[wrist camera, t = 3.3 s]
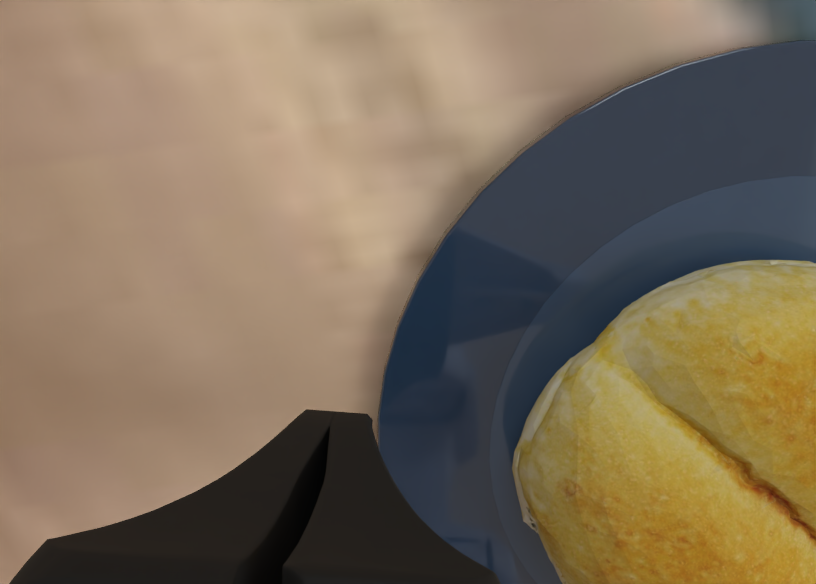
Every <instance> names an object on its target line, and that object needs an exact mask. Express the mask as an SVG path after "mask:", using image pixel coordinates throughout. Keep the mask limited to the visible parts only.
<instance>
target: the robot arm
mask: <svg viewBox="0 0 816 584" xmlns="http://www.w3.org/2000/svg"><path fill="white" fill-rule="evenodd" d="M9 584H500V581H499V579H498V577H497V575H496V574H495V573H494V572H493V571H492V570H490V569H488V568H486V567H485V566H483V565H481V564H479V563H478V562H476V561H474V560H472V559H471V558H469V557H467V556H465V555H464V554H462V553H461V552H459V551H458V550H457V549H455V548H454V547H452V546H451V545H450V544H448V543H447V542H446V541H444V540H443V539H442V538H441V537H440V536H438V535H437V534H436V533H435V532H434V531H433V530H432V529H431V528H430V527H429V526H428V525H427V524H426V523H425V522H424V521H423V520H422V519H421V518H420V517H419V516H418V515H417V513H416V512H415V511H414V510H413V508H412V507H411V506H410V505H409V503H408V502H407V501H406V499H405V498H404V496H403V495H402V493H401V492H400V490H399V489H398V487H397V485H396V484H395V482H394V480H393V478H392V477H391V475H390V473H389V471H388V469H387V467H386V465H385V463H384V460H383V458H382V456H381V454H380V452H379V449H378V446H377V443H376V440H375V437H374V433H373V429H372V419H371V418H370V417H369V415H368V414H360V413H347V412H333V411H319V410H305V411H304V412H303V413H302V414H300V415H299V416H298V417H297V418H296V419H295V420H294V421H292V422H291V423H290V424H289V425H288V426H287V427H286V428H285V429H284V430H283V431H281V432H280V433H279V434H278V435H277V436H276V437H275V438H273V439H272V440H271V441H270V442H269V443H267V444H266V445H265V446H264V447H263V448H261V449H260V450H259V451H258V452H257V453H255V454H254V455H253V456H251V457H250V458H248V459H247V460H246V461H244V462H243V463H242V464H240V465H239V466H238V467H236V468H235V469H233V470H232V471H230V472H229V473H227V474H226V475H224V476H222V477H221V478H219V479H218V480H216V481H214V482H212V483H210V484H209V485H207V486H205V487H203V488H201V489H200V490H198V491H196V492H194V493H192V494H190V495H187V496H185V497H183V498H181V499H179V500H176V501H174V502H172V503H170V504H167V505H165V506H163V507H161V508H158V509H156V510H153V511H151V512H148V513H145V514H142V515H140V516H137V517H134V518H131V519H128V520H125V521H121V522H118V523H115V524H112V525H108V526H105V527H101V528H97V529H93V530H88V531H84V532H80V533H75V534H71V535H67V536H62V537H58V538H52V539H47V540H46V541H45V542H44V544H43V545H42V546H41V547H40V548H39V549H38V550H37V551H36V552H35V553H34V554H33V555H32V556H31V558H30V559H29V560H28V561H27V562H26V563H25V564H24V566H23V567H22V568H21V569H20V571H19V572H18V573H17V574H16V576H15V577H14V578H13V580H12V581H11V582H10V583H9Z"/></svg>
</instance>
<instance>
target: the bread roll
mask: <svg viewBox="0 0 816 584" xmlns="http://www.w3.org/2000/svg"><path fill="white" fill-rule="evenodd" d="M512 471H513V476H514V481H515V486H516V490H517V495H518V499H519V503H520V507H521V512H522V517H523V521H524V522H525V523H527V524H528V525H529V526H530V528H531V529H533V530H535V531H536V533H537V532H538V534H539V536H540V539H541V541H542V543H543V546H544V548H545V550H546V552H547V554H548V557H549V559H550V561H551V562H552V563H553V565H554V567H555V569H556V572H557V574H558V576H559V578H560V580H561V582H562V583H563V584H816V263H813V262H810V261H794V260H751V261H739V262H733V263H727V264H722V265H717V266H713V267H709V268H705V269H702V270H698V271H695V272H692V273H690V274H687V275H685V276H683V277H680V278H678V279H676V280H674V281H670V282H668V283H666V284H664V285H662V286H660V287H658V288H656V289H654V290H653V291H651V292H649V293H647V294H646V295H644V296H642V297H641V298H639V299H638V300H636V301H634V302H633V303H631V304H630V305H629V306H627V307H626V308H624V309H623V310H622V311H621V313H620V314H619V315H618V316H617V317H616V318H615V319H614V320H613V321H612V322H611V323H610V324H609V325H608V326H607V327H606V329H605V330H604V331H603V332H602V333H601V334H600V335H599V336H598V337H597V339H596V340H595V341H594V343H592V344H591V345H589V346H588V347H586V348H585V349H583V350H582V351H580V352H579V353H578V354H577V355H575V356H574V357H572V358H570V359H569V360H568V361H567V362H566V363H565V365H564V366H562V367H561V368H560V369H559V370H558V371H557V372H556V373H555V375H554V376H553V377H552V378H551V380H550V381H549V382H548V384H547V385H546V386H545V388H544V389H543V391H542V392H541V394H540V395H539V397H538V399H537V401H536V403H535V404H534V406H533V408H532V410H531V412H530V413H529V415H528V417H527V419H526V422H525V425H524V428H523V431H522V434H521V437H520V439H519V442H518V444H517V447H516V449H515V451H514V457H513V465H512Z"/></svg>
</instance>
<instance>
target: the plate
mask: <svg viewBox="0 0 816 584" xmlns="http://www.w3.org/2000/svg"><path fill="white" fill-rule="evenodd" d="M751 260H794V261H810V262H813V263H816V40H798V41H787V42H780V43H772V44H764V45H757V46H749V47H742V48H734V49H729V50H726V51H722V52H718V53H714V54H711V55H707V56H703V57H699V58H696V59H692V60H688V61H684V62H681V63H677V64H673V65H671V66H668V67H666V68H664V69H661V70H659V71H656V72H654V73H651V74H649V75H646V76H644V77H641V78H639V79H637V80H634V81H632V82H629V83H627V84H624V85H622V86H619V87H617V88H615V89H614V90H612V91H610V92H608V93H607V94H605V95H603V96H601V97H599V98H598V99H596V100H594V101H592V102H590V103H589V104H587V105H585V106H583V107H582V108H580V109H578V110H576V111H574V112H573V113H571V114H569V115H567V116H566V117H564V118H563V119H562V120H560V121H559V122H558V123H556V124H555V125H554V126H552V127H551V128H549V129H548V130H547V131H545V132H544V133H543V134H541V135H540V136H539V137H537V138H536V139H535V140H533V141H532V142H531V143H529V144H528V145H526V146H525V147H524V148H522V149H521V150H520V151H519V152H518V153H517V154H516V155H514V156H513V157H512V158H511V159H510V160H509V161H508V162H507V163H506V164H505V165H504V166H503V167H502V168H501V169H500V170H499V171H498V172H497V173H496V174H495V175H493V176H492V177H491V178H490V179H489V180H488V181H487V182H486V183H485V184H484V185H483V186H482V187H481V188H480V189H479V190H478V191H477V192H476V194H475V195H474V196H473V197H472V199H471V200H470V201H469V202H468V203H467V205H466V206H465V207H464V208H463V210H462V211H461V212H460V213H459V215H458V216H457V217H456V218H455V220H454V221H453V222H452V223H451V224H450V226H449V227H448V228H447V229H446V231H445V232H444V234H443V235H442V237H441V239H440V240H439V242H438V243H437V245H436V247H435V248H434V250H433V252H432V253H431V255H430V256H429V258H428V260H427V261H426V263H425V265H424V266H423V268H422V269H421V271H420V273H419V274H418V276H417V278H416V281H415V283H414V285H413V287H412V290H411V292H410V294H409V296H408V299H407V301H406V303H405V306H404V308H403V310H402V312H401V315H400V317H399V319H398V322H397V325H396V329H395V332H394V336H393V339H392V343H391V346H390V350H389V353H388V357H387V360H386V364H385V368H384V375H383V383H382V390H381V397H380V404H379V412H378V449H379V452H380V454H381V456H382V458H383V460H384V463H385V465H386V467H387V469H388V471H389V473H390V475H391V477H392V478H393V480H394V482H395V484H396V485H397V487H398V489H399V490H400V492H401V493H402V495H403V496H404V498H405V499H406V501H407V502H408V503H409V505H410V506H411V507H412V508H413V510H414V511H415V512H416V513H417V515H418V516H419V517H420V518H421V519H422V520H423V521H424V522H425V523H426V524H427V525H428V526H429V527H430V528H431V529H432V530H433V531H434V532H435V533H436V534H437V535H438V536H440V537H441V538H442V539H443V540H444V541H446V542H447V543H448V544H450V545H451V546H452V547H454V548H455V549H457V550H458V551H459V552H461V553H462V554H464V555H465V556H467V557H469V558H471V559H472V560H474V561H476V562H478V563H479V564H481V565H483V566H485V567H486V568H488V569H490V570H492V571H493V572H494V573H495V574H496V575H497V577H498V579H499V581H500V584H563V583H562V582H561V580H560V578H559V576H558V574H557V572H556V569H555V567H554V565H553V563H552V562H551V561H550V559H549V557H548V554H547V552H546V550H545V548H544V546H543V543H542V541H541V539H540V536H539V534H538V532H537V533H536V531H535V530H533V529H531V528H530V526H529V525H528V524H527V523H525V522H524V521H523V517H522V512H521V507H520V503H519V499H518V495H517V490H516V486H515V481H514V476H513V471H512V465H513V457H514V451H515V449H516V447H517V444H518V442H519V439H520V437H521V434H522V431H523V428H524V425H525V422H526V419H527V417H528V415H529V413H530V412H531V410H532V408H533V406H534V404H535V403H536V401H537V399H538V397H539V395H540V394H541V392H542V391H543V389H544V388H545V386H546V385H547V384H548V382H549V381H550V380H551V378H552V377H553V376H554V375H555V373H556V372H557V371H558V370H559V369H560V368H561V367H562V366H564V365H565V363H566V362H567V361H568V360H569V359H570V358H572V357H574V356H575V355H577V354H578V353H579V352H580V351H582V350H583V349H585V348H586V347H588V346H589V345H591V344H592V343H594V341H595V340H596V339H597V337H598V336H599V335H600V334H601V333H602V332H603V331H604V330H605V329H606V327H607V326H608V325H609V324H610V323H611V322H612V321H613V320H614V319H615V318H616V317H617V316H618V315H619V314H620V313H621V311H622V310H623V309H624V308H626V307H627V306H629V305H630V304H631V303H633V302H634V301H636V300H638V299H639V298H641V297H642V296H644V295H646V294H647V293H649V292H651V291H653V290H654V289H656V288H658V287H660V286H662V285H664V284H666V283H668V282H670V281H674V280H676V279H678V278H680V277H683V276H685V275H687V274H690V273H692V272H695V271H698V270H702V269H705V268H709V267H713V266H717V265H722V264H727V263H733V262H739V261H751Z"/></svg>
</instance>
